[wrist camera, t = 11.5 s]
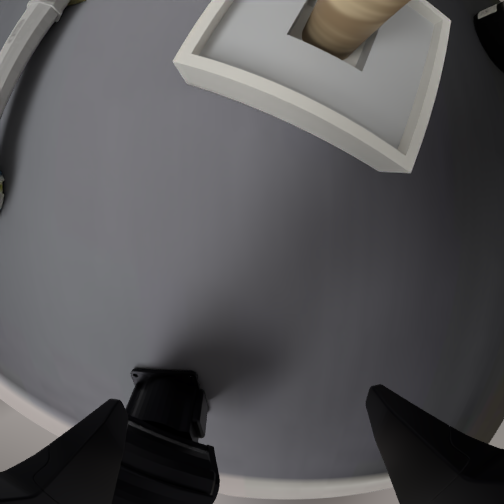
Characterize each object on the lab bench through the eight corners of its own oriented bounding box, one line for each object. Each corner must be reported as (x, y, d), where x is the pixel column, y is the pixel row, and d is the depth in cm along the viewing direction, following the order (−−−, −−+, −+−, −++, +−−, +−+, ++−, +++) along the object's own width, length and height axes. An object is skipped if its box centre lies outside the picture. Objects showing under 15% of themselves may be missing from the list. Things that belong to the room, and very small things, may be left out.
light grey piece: (75, -29, 9) (-47, 242, 11) (97, 6, 15) (-1, 233, 18) (40, -21, 8) (-67, 223, 11) (65, 8, 15) (-25, 218, 17)
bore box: (378, 171, 19) (410, 173, 15) (186, 84, 17) (172, 61, 12) (424, 36, 15) (451, 20, 11) (270, -41, 13) (275, -71, 9)
